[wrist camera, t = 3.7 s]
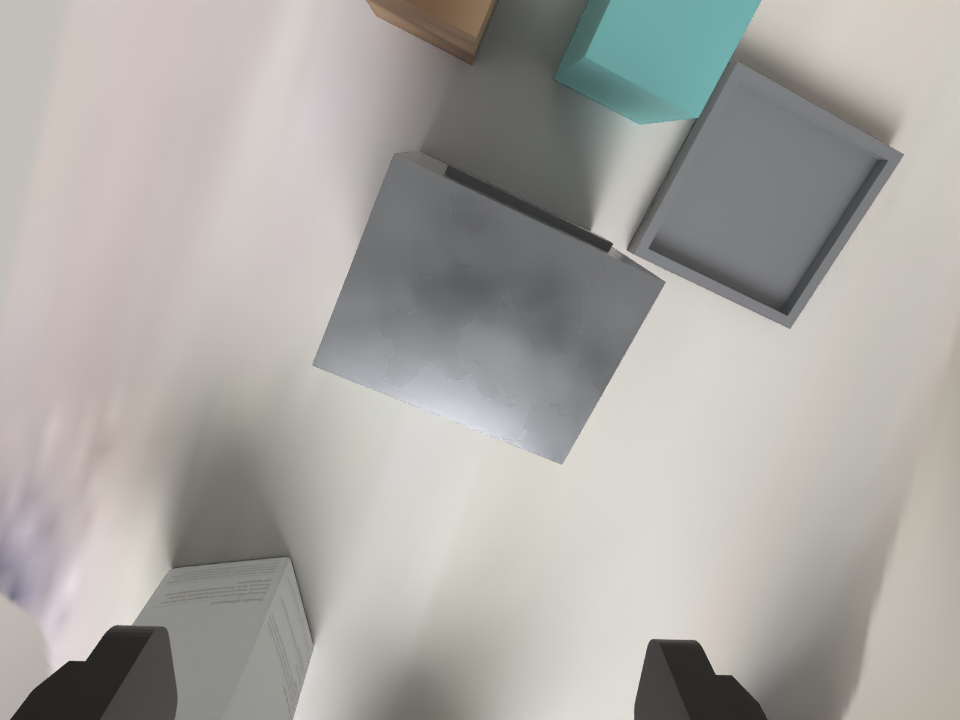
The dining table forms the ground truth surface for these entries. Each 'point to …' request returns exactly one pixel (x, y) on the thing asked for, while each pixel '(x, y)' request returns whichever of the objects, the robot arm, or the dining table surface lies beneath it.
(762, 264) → the tray
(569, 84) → the teal block
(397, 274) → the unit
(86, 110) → the dining table surface
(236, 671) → the supplement box
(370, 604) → the dining table surface
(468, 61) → the walnut block
